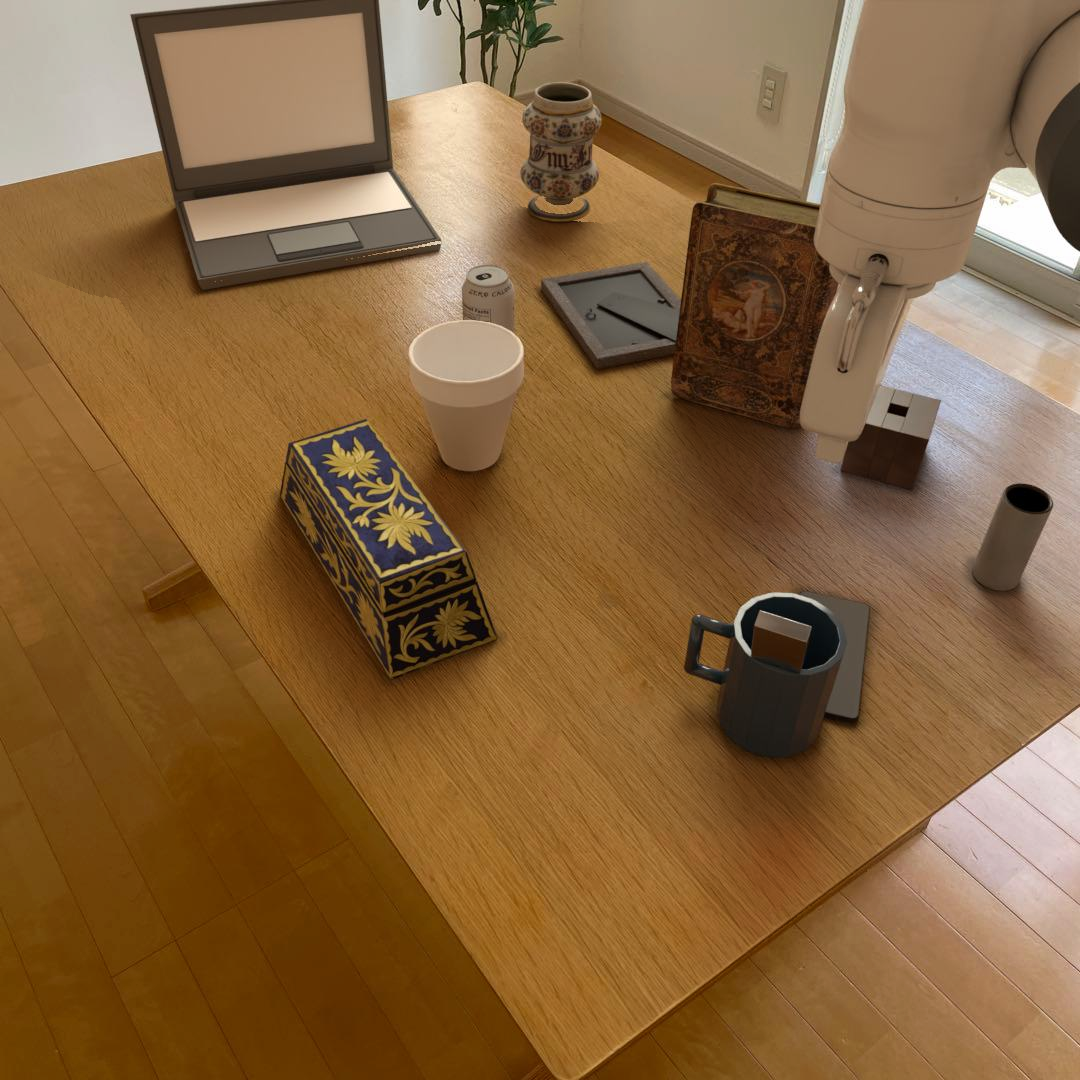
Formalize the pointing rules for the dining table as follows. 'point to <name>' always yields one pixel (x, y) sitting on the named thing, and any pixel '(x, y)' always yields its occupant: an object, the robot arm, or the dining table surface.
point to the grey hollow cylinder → (1012, 536)
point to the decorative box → (384, 549)
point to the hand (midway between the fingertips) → (846, 415)
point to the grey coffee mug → (771, 676)
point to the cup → (467, 388)
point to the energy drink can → (489, 296)
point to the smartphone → (847, 656)
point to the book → (751, 304)
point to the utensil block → (893, 438)
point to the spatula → (780, 641)
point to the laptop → (278, 137)
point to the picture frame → (617, 312)
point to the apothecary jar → (560, 147)
